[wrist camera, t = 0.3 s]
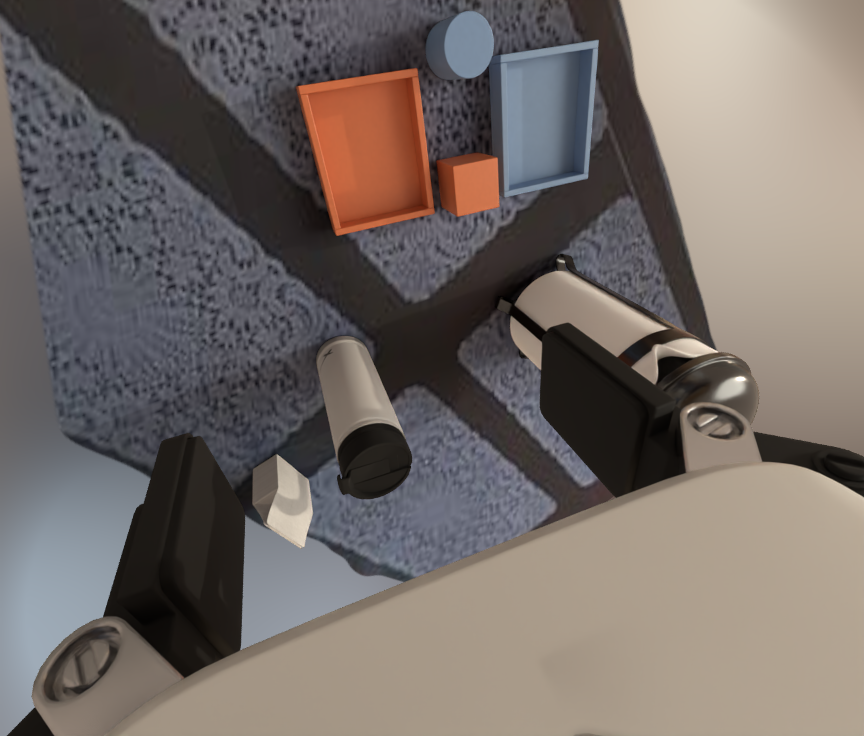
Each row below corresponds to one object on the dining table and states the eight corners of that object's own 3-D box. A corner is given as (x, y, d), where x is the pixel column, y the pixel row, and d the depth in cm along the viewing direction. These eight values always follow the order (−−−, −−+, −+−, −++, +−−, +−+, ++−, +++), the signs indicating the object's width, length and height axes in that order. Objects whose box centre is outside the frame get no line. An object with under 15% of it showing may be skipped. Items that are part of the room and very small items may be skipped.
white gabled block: (276, 453, 55) (279, 514, 47) (308, 480, 59) (316, 539, 51) (253, 469, 55) (252, 532, 47) (286, 494, 59) (290, 556, 51)
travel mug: (308, 341, 48) (332, 461, 33) (364, 330, 50) (414, 439, 34) (318, 385, 52) (345, 513, 36) (371, 374, 54) (419, 491, 38)
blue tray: (488, 56, 40) (500, 54, 38) (582, 42, 42) (598, 39, 40) (493, 193, 47) (504, 197, 45) (574, 175, 49) (587, 178, 47)
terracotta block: (436, 160, 43) (452, 166, 39) (477, 152, 44) (497, 157, 40) (441, 207, 46) (457, 216, 42) (480, 198, 46) (499, 207, 43)
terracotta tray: (295, 86, 36) (297, 86, 34) (409, 69, 38) (417, 67, 36) (332, 229, 43) (336, 236, 41) (427, 208, 45) (434, 213, 43)
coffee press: (470, 354, 57) (622, 540, 33) (520, 238, 51) (753, 367, 27) (566, 370, 65) (745, 530, 41) (620, 271, 58) (870, 394, 34)
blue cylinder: (422, 22, 37) (441, 14, 33) (469, 16, 38) (492, 7, 34) (428, 83, 39) (447, 82, 35) (472, 76, 40) (495, 74, 36)
